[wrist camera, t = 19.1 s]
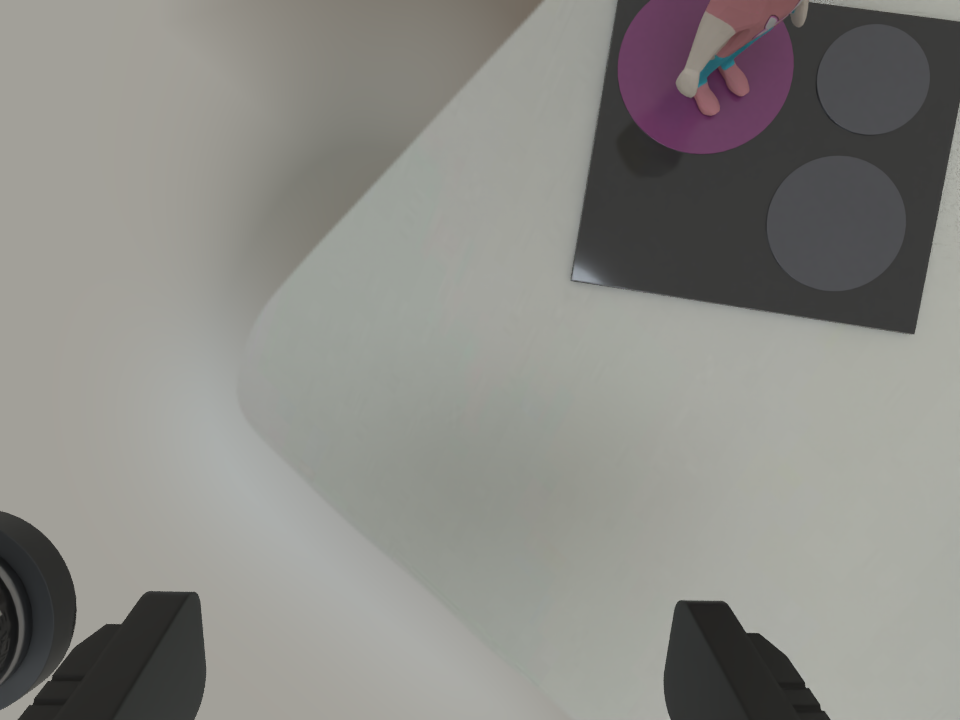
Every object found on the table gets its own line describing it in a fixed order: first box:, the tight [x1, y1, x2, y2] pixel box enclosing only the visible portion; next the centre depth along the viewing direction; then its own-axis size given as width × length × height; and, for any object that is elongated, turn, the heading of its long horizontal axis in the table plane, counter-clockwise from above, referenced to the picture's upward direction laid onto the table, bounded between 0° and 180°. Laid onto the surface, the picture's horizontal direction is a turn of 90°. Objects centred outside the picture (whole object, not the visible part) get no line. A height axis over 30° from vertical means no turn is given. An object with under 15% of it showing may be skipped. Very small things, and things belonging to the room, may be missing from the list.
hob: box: [571, 0, 960, 334], centre depth 34 cm, size 18×16×1 cm
